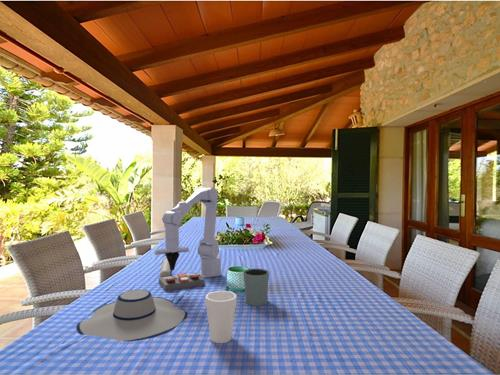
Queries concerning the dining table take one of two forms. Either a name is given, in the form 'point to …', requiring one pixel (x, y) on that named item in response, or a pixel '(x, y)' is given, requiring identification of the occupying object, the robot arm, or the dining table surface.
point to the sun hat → (133, 317)
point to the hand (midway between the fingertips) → (172, 269)
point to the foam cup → (220, 315)
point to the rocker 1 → (183, 277)
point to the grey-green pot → (256, 286)
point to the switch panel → (178, 284)
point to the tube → (165, 269)
